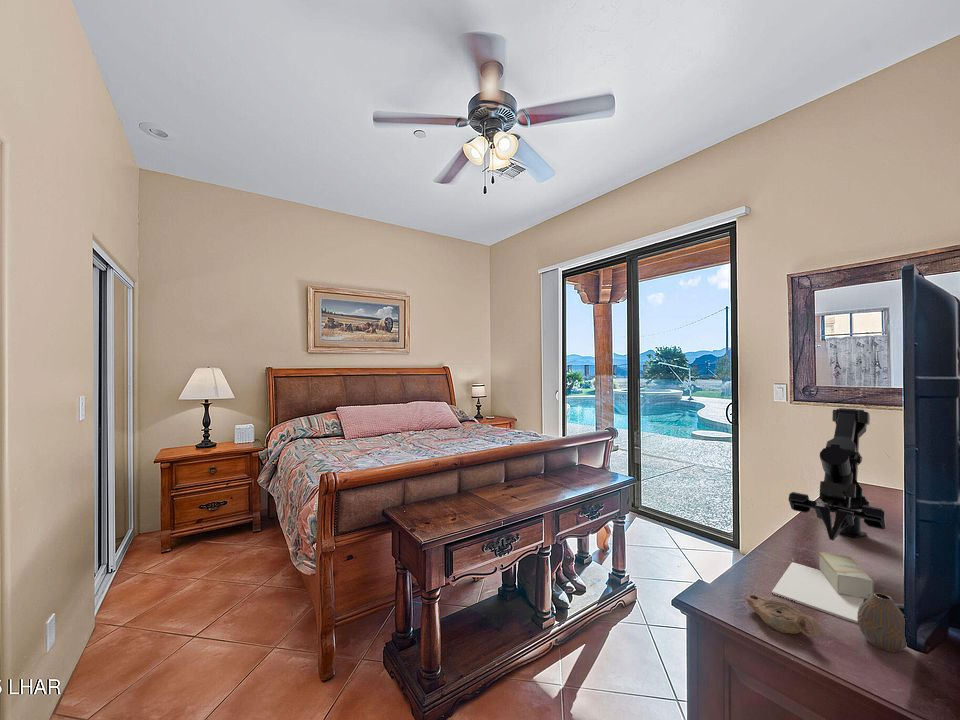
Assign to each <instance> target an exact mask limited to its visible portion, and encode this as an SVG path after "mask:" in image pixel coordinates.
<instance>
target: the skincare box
mask: <svg viewBox="0 0 960 720" xmlns="http://www.w3.org/2000/svg"><path fill="white" fill-rule="evenodd" d="M818 558H819V565H818V566H819V570H821V571H822V572H823V574H824V575H825V576H826V578H827V579H828V580H829V582H830V583H831V584H832V586H833V587H834V589H835V590H836V591H837V593H838V594H842V595H847V596H852V597H857V598H863V599H864V600H868V599H869V598H871V597H872V596H873V594H874V593H875V590H874V589H875V587H874V586H875V585H874V581H873V579H871V577H870V576H869V575H868V574H867V572H865V571H864V570H863V569H862V567H860V566H859V564H858V563H857V562H856V561H855V560H854V559H853V558H852V557H851V556H847V555H842V554H837V553H836V554H835V553H828V552H824V551H823V552H822V551H819V557H818Z"/></svg>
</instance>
